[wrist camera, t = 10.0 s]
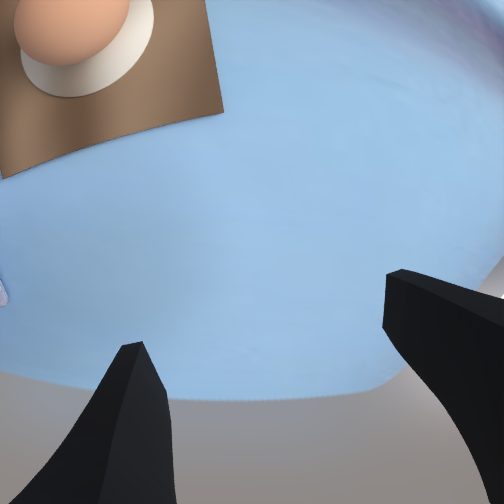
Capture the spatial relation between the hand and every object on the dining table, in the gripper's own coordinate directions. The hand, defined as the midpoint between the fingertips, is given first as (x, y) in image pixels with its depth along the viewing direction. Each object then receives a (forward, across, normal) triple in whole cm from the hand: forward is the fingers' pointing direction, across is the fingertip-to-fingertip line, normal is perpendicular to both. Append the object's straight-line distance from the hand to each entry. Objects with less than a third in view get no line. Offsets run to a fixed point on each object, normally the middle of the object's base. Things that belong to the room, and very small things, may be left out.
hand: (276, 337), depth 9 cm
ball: (+6, +5, -12) cm, 14 cm away
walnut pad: (+9, +5, -12) cm, 16 cm away
